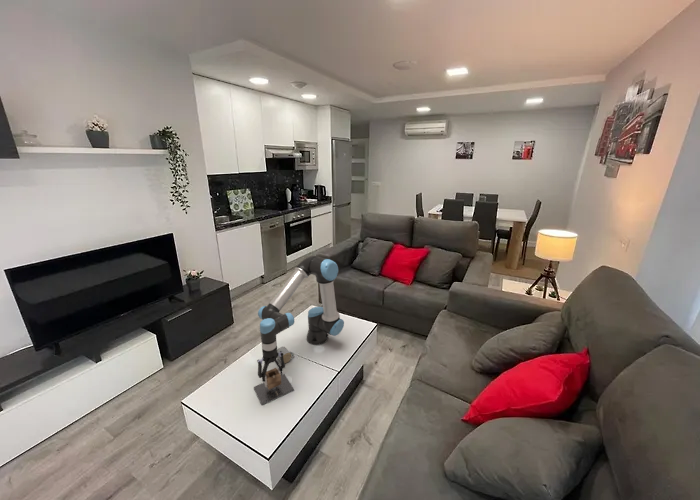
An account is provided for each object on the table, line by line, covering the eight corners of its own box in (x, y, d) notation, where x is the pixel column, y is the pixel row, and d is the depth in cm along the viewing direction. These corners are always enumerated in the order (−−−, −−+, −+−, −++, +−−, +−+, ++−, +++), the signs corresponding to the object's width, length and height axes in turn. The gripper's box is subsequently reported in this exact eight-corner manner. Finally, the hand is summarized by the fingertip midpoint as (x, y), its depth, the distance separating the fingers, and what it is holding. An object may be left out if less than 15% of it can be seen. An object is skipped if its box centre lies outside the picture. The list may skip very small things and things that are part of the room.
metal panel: (284, 375, 170) (283, 368, 168) (294, 390, 159) (293, 383, 157) (253, 388, 160) (252, 381, 159) (261, 405, 149) (260, 398, 148)
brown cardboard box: (276, 376, 163) (276, 367, 161) (281, 384, 157) (280, 374, 155) (264, 381, 159) (263, 372, 157) (268, 389, 154) (267, 380, 152)
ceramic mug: (282, 366, 177) (281, 355, 175) (275, 359, 183) (274, 349, 181) (297, 358, 184) (296, 348, 182) (290, 352, 190) (289, 342, 188)
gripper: (284, 337, 159) (287, 371, 166) (248, 350, 149) (252, 385, 156) (290, 344, 153) (292, 379, 160) (252, 358, 143) (256, 394, 150)
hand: (272, 382), depth 158 cm, fingers closed on brown cardboard box, 7 cm apart
